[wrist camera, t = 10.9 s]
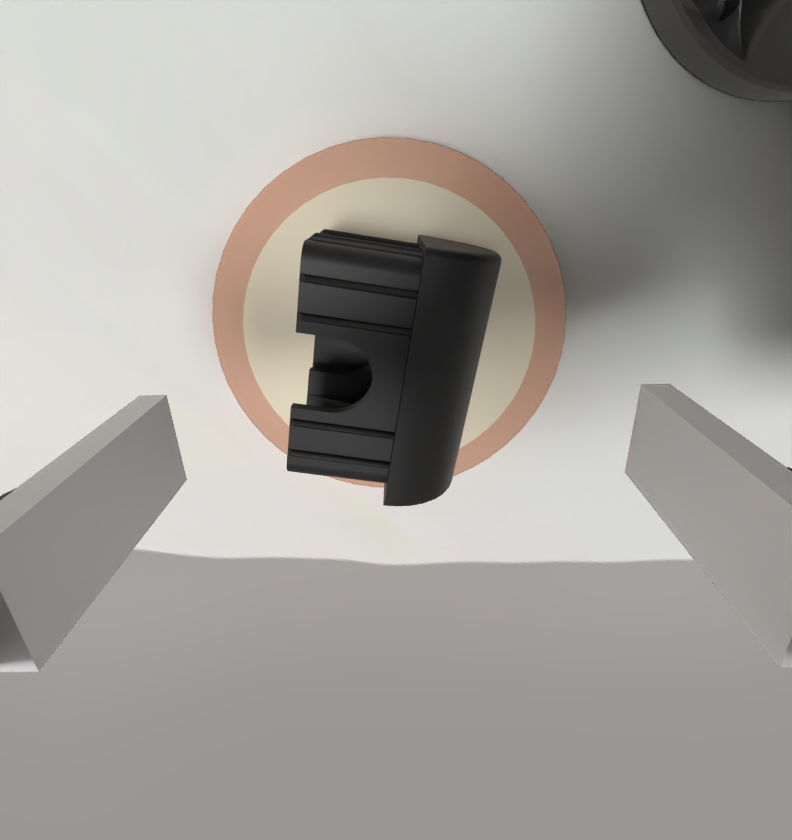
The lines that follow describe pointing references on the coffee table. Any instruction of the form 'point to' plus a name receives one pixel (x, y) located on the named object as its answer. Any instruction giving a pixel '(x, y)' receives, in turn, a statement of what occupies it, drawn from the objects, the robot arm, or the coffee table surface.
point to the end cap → (389, 358)
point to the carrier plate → (398, 220)
